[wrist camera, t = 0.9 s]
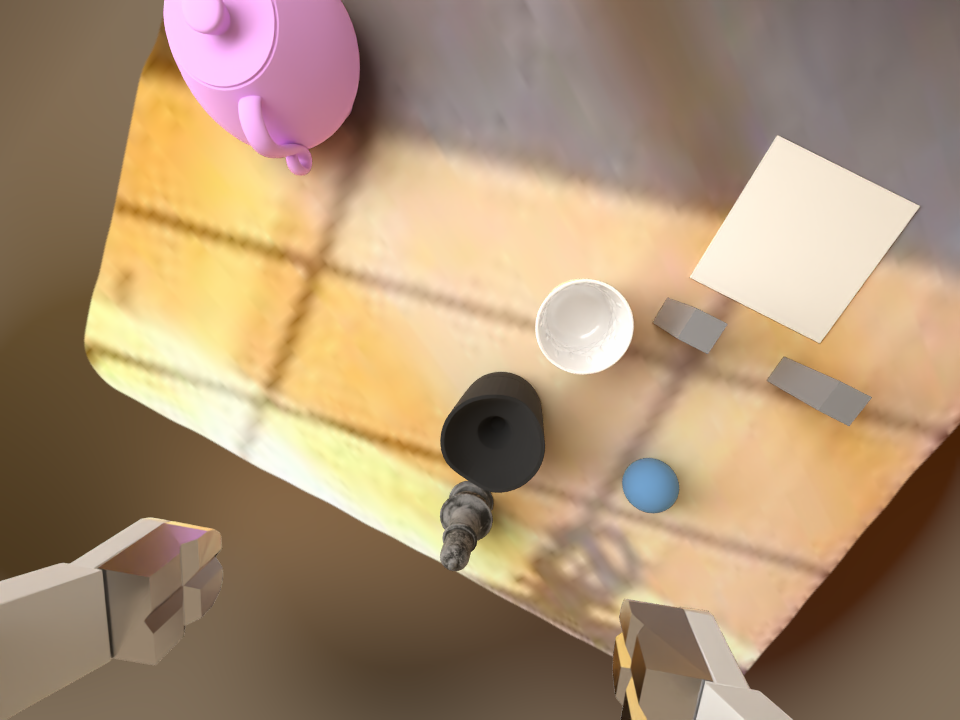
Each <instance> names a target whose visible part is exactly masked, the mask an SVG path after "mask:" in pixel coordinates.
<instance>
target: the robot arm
mask: <svg viewBox="0 0 960 720" xmlns="http://www.w3.org/2000/svg"><path fill="white" fill-rule="evenodd" d="M221 549H222V541H221V534H220V533H219V532H218V531H216V530H214V529H210V528H205V527H200V526H195V525H190V524H185V523H179V522H174V521H168V520H162V519H157V518H145V519H141V520H139V521H137V522H136V523H134V524H133V525H131V526H130V527H128V528H126V529H125V530H123V531H121V532H120V533H118V534H117V535H115V536H113V537H112V538H110V539H109V540H107V541H105V542H104V543H102V544H101V545H99V546H98V547H96V548H94V549H93V550H91V551H90V552H88V553H86V554H85V555H84V556H82V557H80V558H78V559H77V560H75V561H74V562H72V563H70V564H66V563H60V564H57V565H54V566H50V567H47V568H43V569H40V570H37V571H33V572H30V573H27V574H24V575H20V576H17V577H14V578H10V579H7V580H3V581H0V720H6V719H8V718H10V717H12V716H13V715H15V714H17V713H19V712H21V711H22V710H24V709H26V708H28V707H29V706H31V705H33V704H35V703H37V702H38V701H40V700H42V699H44V698H46V697H47V696H49V695H51V694H53V693H55V692H56V691H58V690H60V689H61V688H63V687H65V686H67V685H69V684H71V683H72V682H74V681H76V680H78V679H80V678H81V677H83V676H85V675H87V674H88V673H90V672H92V671H94V670H96V669H97V668H99V667H101V666H103V665H104V664H106V663H108V662H110V661H111V658H114V659H120V660H126V661H132V662H138V663H144V664H150V665H157V663H158V662H159V661H160V660H161V659H162V658H163V657H164V656H165V655H166V654H167V653H168V652H169V651H170V650H171V649H172V648H173V647H174V646H175V645H176V644H177V643H178V642H179V641H180V640H181V639H182V638H183V637H184V632H185V625H187V624H190V623H192V622H194V621H196V620H198V619H200V618H202V617H203V616H204V615H205V613H206V612H207V611H208V610H209V609H210V608H211V607H212V606H213V604H214V602H215V600H216V598H217V596H218V594H219V592H220V590H221V585H222V581H223V568H222V566H221V564H220V563H219V562H218V560H217V558H216V555H217V554H218V553H219V552H220V551H221ZM619 618H620V623H621V628H622V633H620V634H619V635H618V636H617V637H616V638H615V644H614V651H613V670H612V671H613V684H614V689H615V696H616V698H617V699H618V701H619V702H620V703H621V704H622V706H623V708H622V714H621V720H792V719H791V718H790V717H789V716H788V715H787V714H786V713H784V712H783V711H782V710H780V708H779V707H777V706H776V705H775V704H774V703H773V702H772V701H770V700H769V699H768V698H767V697H766V696H765V695H763V694H762V693H761V692H760V691H756V690H751V689H750V688H749V686H748V684H747V682H746V680H745V678H744V676H743V674H742V672H741V670H740V668H739V666H738V664H737V662H736V660H735V658H734V656H733V654H732V652H731V650H730V648H729V646H728V644H727V642H726V640H725V638H724V636H723V634H722V632H721V630H720V628H719V626H718V624H717V622H716V620H715V618H714V616H713V615H712V614H711V613H710V612H709V611H706V610H699V609H692V608H685V607H679V608H678V607H671V606H665V605H659V604H653V603H647V602H641V601H635V600H629V599H624V601H623V603H622V606H621V611H620V616H619Z"/></svg>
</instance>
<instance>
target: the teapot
mask: <svg viewBox="0 0 960 720" xmlns="http://www.w3.org/2000/svg"><path fill="white" fill-rule="evenodd" d="M164 23H165V30H166V34H167V38H168V42H169V45H170V48H171V51H172V54H173V56H174V59H175V61H176V63H177V65H178V67H179V69H180V72H181V74H182V76H183V78H184V80H185V82H186V83H187V85H188V87H189V88H190V90H191V92H192V93H193V95H194V96H195V98H196V99H197V101H198V102H199V103H200V105H201V106H202V107H203V108H204V109H205V111H206V112H207V113H208V114H209V115H210V116H211V117H212V118H213V119H214V120H215V121H216V122H217V123H218V124H219V125H220V126H221V127H223V128H224V129H225V130H226V131H228V132H229V133H230V134H232V135H233V136H234V137H236V138H237V139H239V140H241V141H242V142H244V143H246V144H248V145H250V146H252V147H253V148H254V150H255V151H257V152H258V153H259V154H261V155H263V156H265V157H269V158H282V157H286V161H287V165H288V168H289V169H290V171H291V172H292V173H294V174H296V175H305V174H307V173H309V172H310V170H311V167H312V157H311V154H310V152H309V150H308V149H310V148H313V147H315V146H317V145H319V144H321V143H322V142H324V141H325V140H327V139H328V138H329V137H331V136H332V135H333V134H334V133H335V132H336V131H337V130H338V129H339V127H340V126H341V125H342V123H343V122H344V121H345V119H346V118H347V117H348V116H349V115H350V114H351V111H352V107H353V103H354V100H355V97H356V93H357V89H358V83H359V74H360V60H359V50H358V44H357V38H356V34H355V31H354V27H353V24H352V22H351V19H350V17H349V14H348V12H347V10H346V9H345V7H344V5H343V3H342V1H341V0H165V1H164Z"/></svg>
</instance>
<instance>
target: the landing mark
mask: <svg viewBox="0 0 960 720" xmlns="http://www.w3.org/2000/svg"><path fill="white" fill-rule="evenodd" d="M919 207H920V206H918V205H916V204H914V203H912V202H910V201H908V200H906V199H904V198H902V197H900V196H898V195H896V194H894V193H892V192H890V191H888V190H886V189H884V188H882V187H880V186H878V185H876V184H874V183H872V182H870V181H868V180H866V179H864V178H862V177H860V176H858V175H856V174H854V173H852V172H850V171H848V170H846V169H844V168H842V167H840V166H838V165H836V164H834V163H832V162H830V161H828V160H826V159H824V158H822V157H820V156H818V155H816V154H814V153H812V152H810V151H808V150H806V149H804V148H802V147H800V146H798V145H796V144H794V143H792V142H790V141H788V140H786V139H784V138H782V137H780V136H776V138H775V140H774V141H773V143H772V144H771V146H770V148H769V149H768V151H767V153H766V154H765V156H764V157H763V159H762V161H761V162H760V164H759V166H758V167H757V169H756V170H755V172H754V174H753V175H752V177H751V178H750V180H749V182H748V183H747V185H746V187H745V188H744V190H743V191H742V193H741V195H740V196H739V198H738V200H737V201H736V203H735V204H734V206H733V208H732V209H731V211H730V213H729V214H728V216H727V217H726V219H725V221H724V222H723V224H722V226H721V227H720V229H719V230H718V232H717V234H716V235H715V237H714V239H713V240H712V242H711V243H710V245H709V247H708V248H707V250H706V252H705V253H704V255H703V256H702V258H701V260H700V261H699V263H698V265H697V266H696V268H695V269H694V271H693V273H692V274H691V276H690V277H689V278H691V279H693V280H695V281H697V282H699V283H701V284H703V285H705V286H707V287H709V288H711V289H713V290H715V291H717V292H719V293H721V294H723V295H725V296H727V297H729V298H731V299H733V300H735V301H737V302H739V303H741V304H743V305H745V306H747V307H749V308H751V309H753V310H755V311H757V312H759V313H761V314H763V315H764V316H766V317H768V318H770V319H772V320H774V321H776V322H778V323H780V324H782V325H784V326H786V327H788V328H790V329H792V330H794V331H796V332H798V333H800V334H802V335H804V336H806V337H808V338H810V339H812V340H814V341H816V342H818V343H820V342H821V341H822V340H823V338H824V337H825V336H826V334H827V333H828V332H829V330H830V329H831V327H832V326H833V325H834V323H835V322H836V321H837V319H838V318H839V316H840V315H841V314H842V312H843V311H844V310H845V308H846V307H847V306H848V304H849V303H850V301H851V300H852V299H853V297H854V296H855V295H856V293H857V292H858V290H859V289H860V288H861V286H862V285H863V284H864V282H865V281H866V280H867V278H868V277H869V275H870V274H871V273H872V271H873V270H874V269H875V267H876V266H877V264H878V263H879V262H880V260H881V259H882V258H883V256H884V255H885V253H886V252H887V251H888V249H889V248H890V247H891V245H892V244H893V243H894V241H895V240H896V238H897V237H898V236H899V234H900V233H901V232H902V230H903V229H904V227H905V226H906V225H907V223H908V222H909V221H910V219H911V218H912V217H913V215H914V214H915V212H916V211H917V210H918V208H919Z"/></svg>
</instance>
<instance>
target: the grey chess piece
mask: <svg viewBox="0 0 960 720" xmlns="http://www.w3.org/2000/svg"><path fill="white" fill-rule="evenodd" d="M493 504H494V503H493V497H492V495H491V492H489V491H486V490H484V489H481V488H479V487H478V486H476V485H474V484H473V483H471V482H470V481H464V482H461V483H459V484H457V485H456V486H455V487H454V488H453V489H452V491H451V493H450V496H449V499H447V501H446V502H445V503H444V504H443V506H442V508H441V512H440V519H441V523H442V526H443V528H444V529H445V531H444V533H443V543H444V544H443V547H442V550H441V554H440V560H441V563H442V564H443V566H444V567H445V568H447V569H448V570H451V571H459V570H462V569H463V568H464V567H465V566H466V565H467V563H468V562H469V558H470V554H471V552H472V551H473V550H474V549H475V547H476V545H477V540H480V539H482V538H483V537H485V536H486V535H487V534H488V533H489V531H490V529H491V527H492V522H493V518H492V513H491V511H492V509H493Z"/></svg>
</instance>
